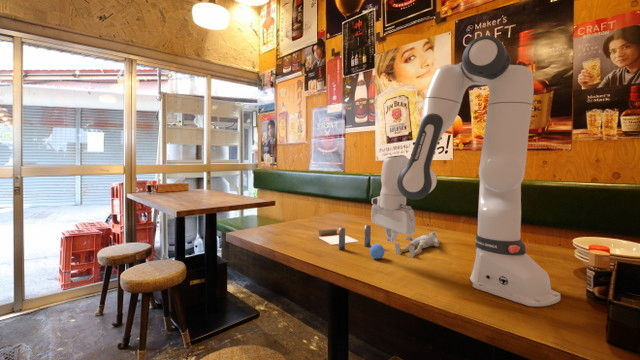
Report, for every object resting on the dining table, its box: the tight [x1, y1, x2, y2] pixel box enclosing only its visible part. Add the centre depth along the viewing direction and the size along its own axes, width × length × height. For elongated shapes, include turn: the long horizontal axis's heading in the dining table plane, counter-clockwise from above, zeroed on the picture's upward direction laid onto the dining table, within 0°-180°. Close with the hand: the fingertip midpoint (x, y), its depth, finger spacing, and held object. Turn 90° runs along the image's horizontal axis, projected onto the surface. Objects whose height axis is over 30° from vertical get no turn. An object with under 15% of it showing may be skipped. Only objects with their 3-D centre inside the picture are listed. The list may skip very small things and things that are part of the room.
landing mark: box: [318, 234, 360, 246], centre depth 144 cm, size 14×14×1 cm
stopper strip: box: [318, 228, 338, 237], centre depth 154 cm, size 2×9×2 cm, turn 115°
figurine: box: [394, 231, 440, 258], centre depth 130 cm, size 13×6×30 cm
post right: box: [363, 224, 372, 248], centre depth 133 cm, size 3×3×9 cm
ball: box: [369, 243, 385, 260], centre depth 116 cm, size 6×6×6 cm
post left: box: [338, 227, 346, 251], centre depth 127 cm, size 3×3×9 cm
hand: (390, 241), depth 107 cm, fingers closed
